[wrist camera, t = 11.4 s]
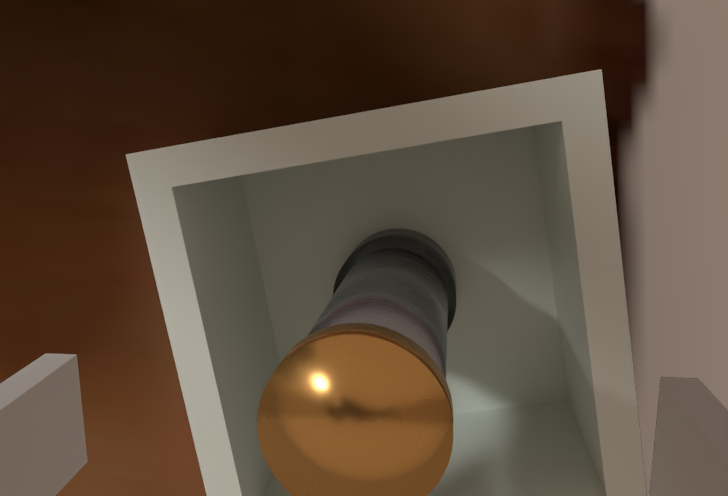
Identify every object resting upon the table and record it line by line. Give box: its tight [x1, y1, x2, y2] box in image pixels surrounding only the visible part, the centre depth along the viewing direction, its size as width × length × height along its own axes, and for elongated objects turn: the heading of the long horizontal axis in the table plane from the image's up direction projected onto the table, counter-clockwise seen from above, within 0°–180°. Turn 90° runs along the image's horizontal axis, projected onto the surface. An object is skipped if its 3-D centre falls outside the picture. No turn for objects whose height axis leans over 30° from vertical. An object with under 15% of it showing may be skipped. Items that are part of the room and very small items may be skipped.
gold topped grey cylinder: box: [257, 229, 456, 496], centre depth 22 cm, size 5×5×13 cm
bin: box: [126, 69, 647, 496], centre depth 25 cm, size 14×14×8 cm
